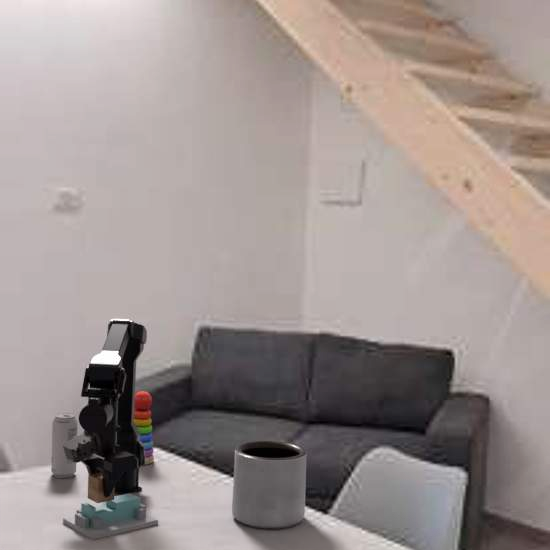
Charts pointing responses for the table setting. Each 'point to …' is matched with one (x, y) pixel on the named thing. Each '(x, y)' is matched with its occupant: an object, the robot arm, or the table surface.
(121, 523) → the jig
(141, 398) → the stacking toy
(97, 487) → the brown wooden cube
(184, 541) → the table surface
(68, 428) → the energy drink can
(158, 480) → the table surface
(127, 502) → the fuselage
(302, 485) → the planter
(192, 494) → the table surface
